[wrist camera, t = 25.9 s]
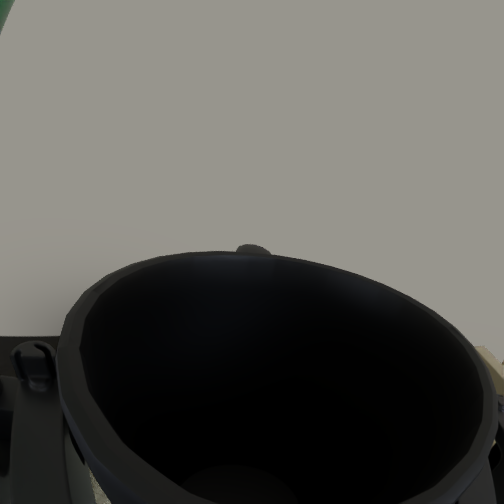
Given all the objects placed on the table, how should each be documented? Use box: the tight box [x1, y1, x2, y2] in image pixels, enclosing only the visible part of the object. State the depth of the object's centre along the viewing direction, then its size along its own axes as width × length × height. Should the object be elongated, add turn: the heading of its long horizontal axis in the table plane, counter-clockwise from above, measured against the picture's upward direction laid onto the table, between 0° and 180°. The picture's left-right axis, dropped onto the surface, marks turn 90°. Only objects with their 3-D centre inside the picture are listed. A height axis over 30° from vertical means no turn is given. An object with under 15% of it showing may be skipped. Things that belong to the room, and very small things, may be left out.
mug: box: [55, 244, 498, 504], centre depth 8 cm, size 8×12×10 cm
